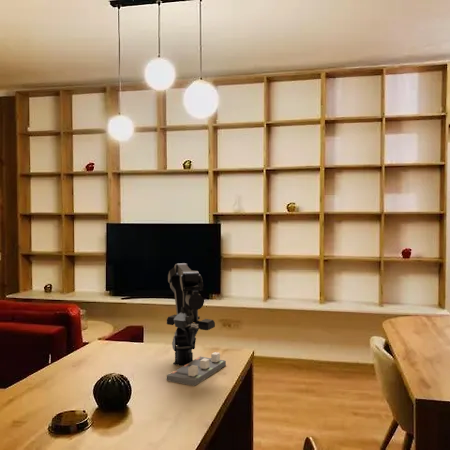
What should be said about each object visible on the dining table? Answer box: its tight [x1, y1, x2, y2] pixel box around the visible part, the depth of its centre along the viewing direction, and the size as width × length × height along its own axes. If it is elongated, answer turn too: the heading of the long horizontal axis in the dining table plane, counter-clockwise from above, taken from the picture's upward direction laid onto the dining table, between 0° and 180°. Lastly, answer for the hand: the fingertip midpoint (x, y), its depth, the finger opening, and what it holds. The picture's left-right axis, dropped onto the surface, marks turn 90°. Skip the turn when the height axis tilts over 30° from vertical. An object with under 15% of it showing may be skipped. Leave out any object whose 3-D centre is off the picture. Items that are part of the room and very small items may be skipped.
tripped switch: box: [188, 365, 198, 376], centre depth 182 cm, size 2×3×3 cm
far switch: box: [210, 351, 221, 362], centre depth 198 cm, size 2×3×3 cm
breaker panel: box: [166, 356, 227, 387], centre depth 191 cm, size 12×25×2 cm, turn 153°
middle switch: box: [200, 357, 209, 369], centre depth 190 cm, size 2×3×3 cm
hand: (190, 344), depth 188 cm, fingers closed
